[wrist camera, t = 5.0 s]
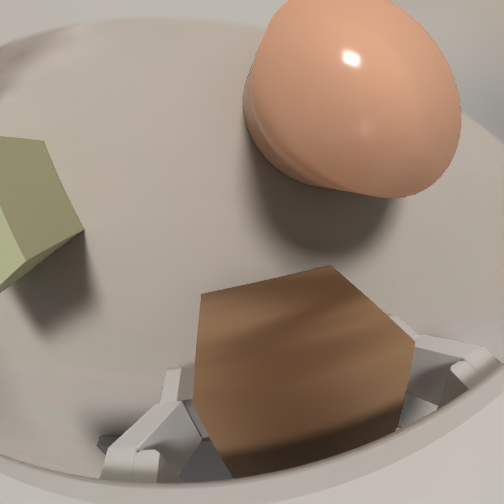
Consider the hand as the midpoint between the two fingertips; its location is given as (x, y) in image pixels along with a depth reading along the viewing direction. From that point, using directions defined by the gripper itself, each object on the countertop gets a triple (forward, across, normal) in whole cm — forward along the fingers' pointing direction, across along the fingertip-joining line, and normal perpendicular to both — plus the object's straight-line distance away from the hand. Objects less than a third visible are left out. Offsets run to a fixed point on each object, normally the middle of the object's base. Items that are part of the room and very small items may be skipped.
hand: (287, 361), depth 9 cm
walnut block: (+2, 0, 0) cm, 2 cm away
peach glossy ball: (+3, -3, -8) cm, 9 cm away
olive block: (+3, +9, -7) cm, 11 cm away
